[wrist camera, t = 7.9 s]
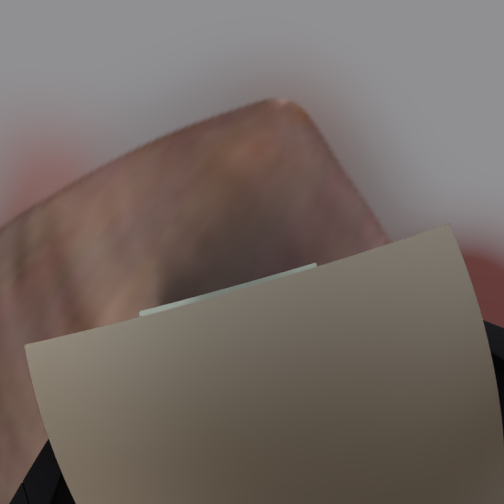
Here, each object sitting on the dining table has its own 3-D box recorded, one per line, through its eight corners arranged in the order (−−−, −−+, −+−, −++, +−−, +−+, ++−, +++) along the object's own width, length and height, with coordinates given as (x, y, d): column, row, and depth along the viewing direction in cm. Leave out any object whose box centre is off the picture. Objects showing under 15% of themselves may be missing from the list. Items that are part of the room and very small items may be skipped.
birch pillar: (313, 408, 15) (502, 534, 2) (222, 435, 15) (181, 647, 1) (286, 320, 17) (449, 223, 3) (194, 347, 16) (24, 344, 3)
